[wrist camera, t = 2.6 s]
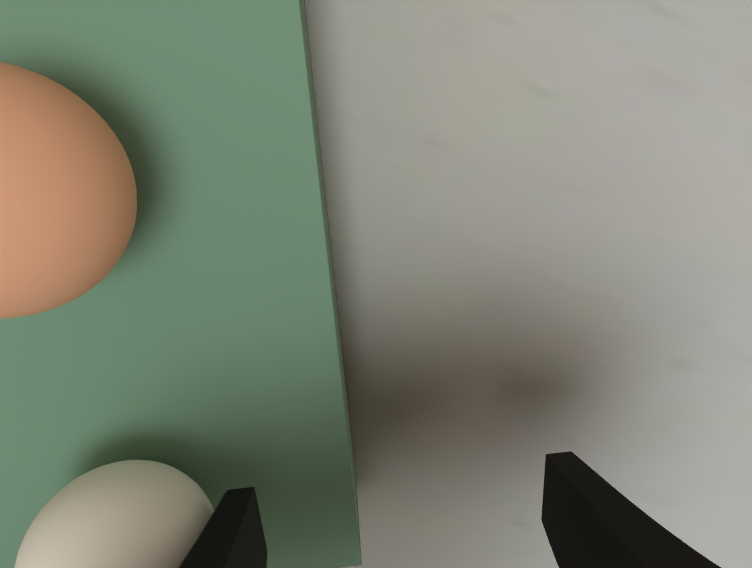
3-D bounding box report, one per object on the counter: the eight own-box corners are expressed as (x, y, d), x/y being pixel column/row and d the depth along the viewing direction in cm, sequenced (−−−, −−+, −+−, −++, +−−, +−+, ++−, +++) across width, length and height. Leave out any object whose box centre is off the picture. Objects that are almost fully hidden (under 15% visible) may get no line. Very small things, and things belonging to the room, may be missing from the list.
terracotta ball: (184, 258, 11) (111, 351, 7) (-10, 276, 11) (-186, 380, 7) (139, 53, 10) (18, 40, 6) (-88, 69, 9) (-361, 66, 6)
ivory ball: (245, 539, 14) (213, 705, 10) (95, 555, 14) (6, 729, 10) (219, 415, 13) (169, 558, 9) (49, 432, 12) (-73, 584, 9)
